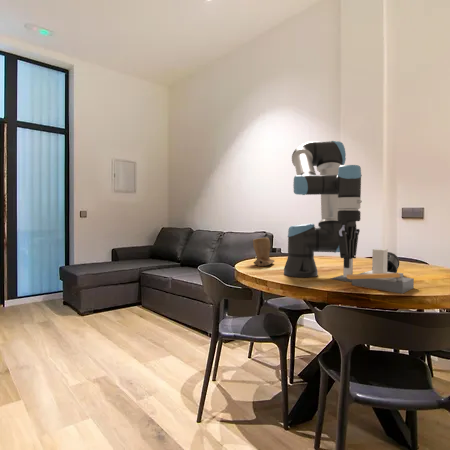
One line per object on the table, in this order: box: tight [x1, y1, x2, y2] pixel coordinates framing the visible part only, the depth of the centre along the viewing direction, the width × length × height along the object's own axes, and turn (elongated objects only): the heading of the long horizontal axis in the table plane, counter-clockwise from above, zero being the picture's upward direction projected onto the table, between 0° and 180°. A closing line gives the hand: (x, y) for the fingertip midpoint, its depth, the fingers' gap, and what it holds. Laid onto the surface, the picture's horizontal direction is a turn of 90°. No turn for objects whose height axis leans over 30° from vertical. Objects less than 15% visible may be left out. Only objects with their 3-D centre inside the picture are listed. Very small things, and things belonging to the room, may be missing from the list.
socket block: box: [351, 272, 415, 295], centre depth 121 cm, size 18×12×6 cm, turn 44°
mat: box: [330, 274, 352, 283], centre depth 135 cm, size 11×11×1 cm
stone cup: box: [252, 237, 275, 267], centre depth 175 cm, size 15×12×15 cm
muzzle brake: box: [387, 251, 400, 273], centre depth 140 cm, size 10×28×10 cm, turn 150°
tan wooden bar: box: [347, 272, 404, 279], centre depth 112 cm, size 21×2×1 cm, turn 101°
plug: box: [362, 248, 393, 280], centre depth 122 cm, size 9×9×14 cm
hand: (347, 276), depth 113 cm, fingers closed
